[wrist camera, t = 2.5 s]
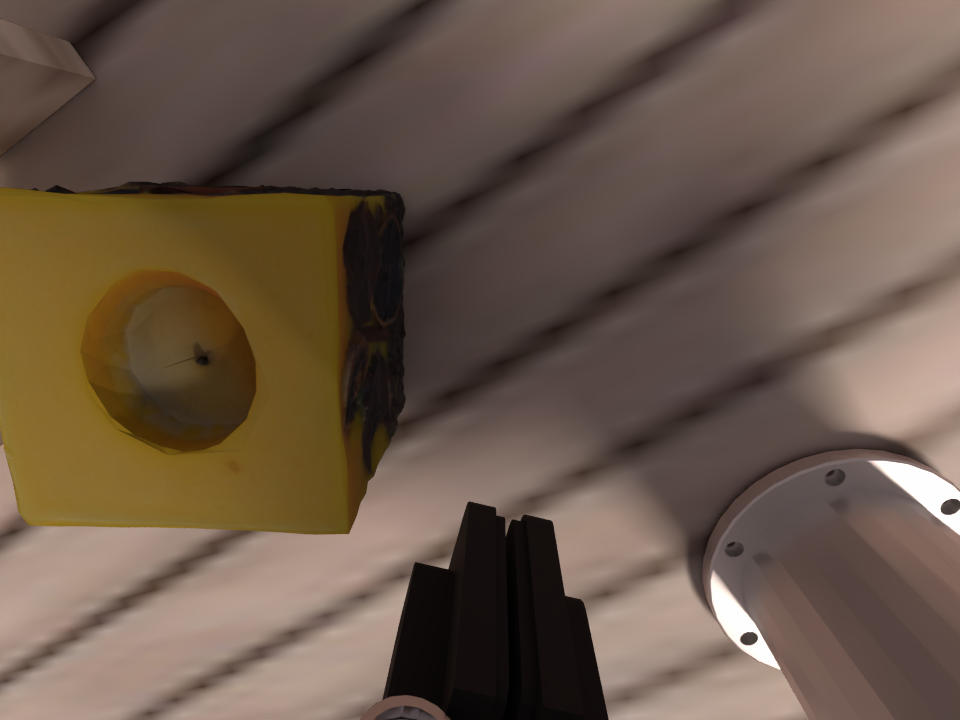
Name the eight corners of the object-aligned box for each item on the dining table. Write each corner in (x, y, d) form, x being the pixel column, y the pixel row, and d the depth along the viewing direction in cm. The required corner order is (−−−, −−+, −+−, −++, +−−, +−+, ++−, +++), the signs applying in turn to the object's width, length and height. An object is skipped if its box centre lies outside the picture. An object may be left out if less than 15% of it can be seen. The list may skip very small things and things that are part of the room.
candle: (197, 403, 25) (15, 533, 16) (164, 180, 22) (-88, 177, 13) (409, 413, 25) (351, 552, 16) (407, 188, 22) (332, 191, 12)
